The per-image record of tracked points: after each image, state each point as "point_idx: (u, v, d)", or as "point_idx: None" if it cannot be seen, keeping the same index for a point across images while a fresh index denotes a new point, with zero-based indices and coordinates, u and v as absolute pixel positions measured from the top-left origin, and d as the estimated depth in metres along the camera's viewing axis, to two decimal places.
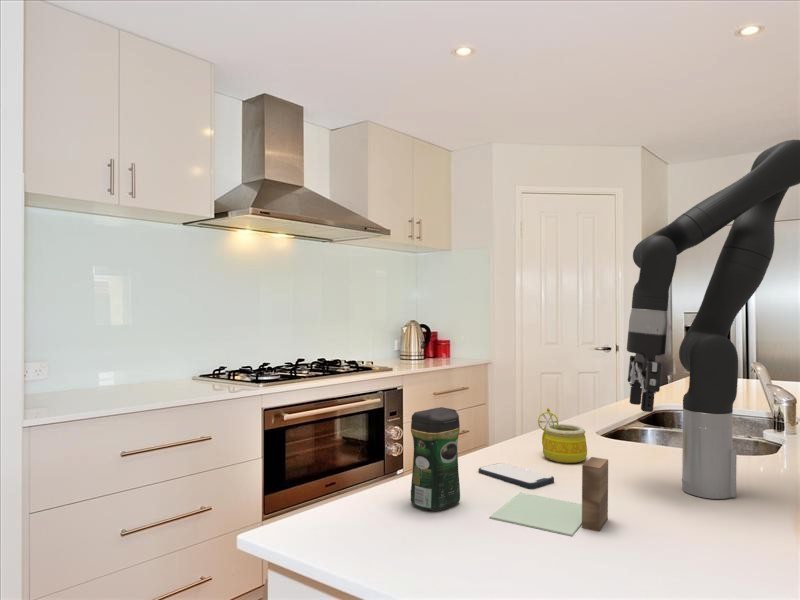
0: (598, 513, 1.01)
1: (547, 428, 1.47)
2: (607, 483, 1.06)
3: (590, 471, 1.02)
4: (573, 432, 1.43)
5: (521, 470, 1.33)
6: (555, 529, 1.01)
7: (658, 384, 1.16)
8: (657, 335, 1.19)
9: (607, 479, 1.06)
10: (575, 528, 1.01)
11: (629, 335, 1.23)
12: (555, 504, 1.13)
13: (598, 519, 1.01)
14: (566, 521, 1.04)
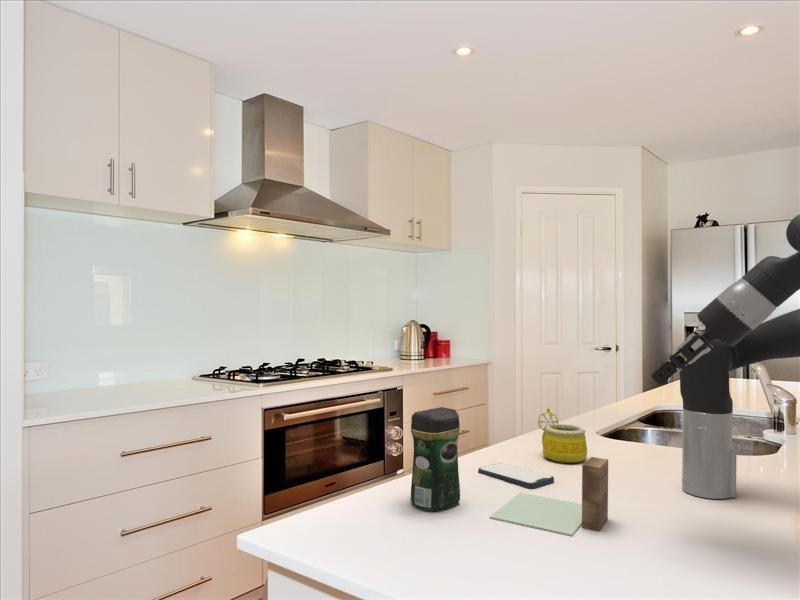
0: (598, 513, 1.01)
1: (547, 428, 1.47)
2: (607, 483, 1.06)
3: (590, 471, 1.02)
4: (573, 432, 1.43)
5: (521, 470, 1.33)
6: (555, 529, 1.01)
7: (685, 363, 0.95)
8: (737, 319, 0.93)
9: (607, 479, 1.06)
10: (575, 528, 1.01)
11: (712, 301, 0.98)
12: (555, 504, 1.13)
13: (598, 519, 1.01)
14: (566, 521, 1.04)
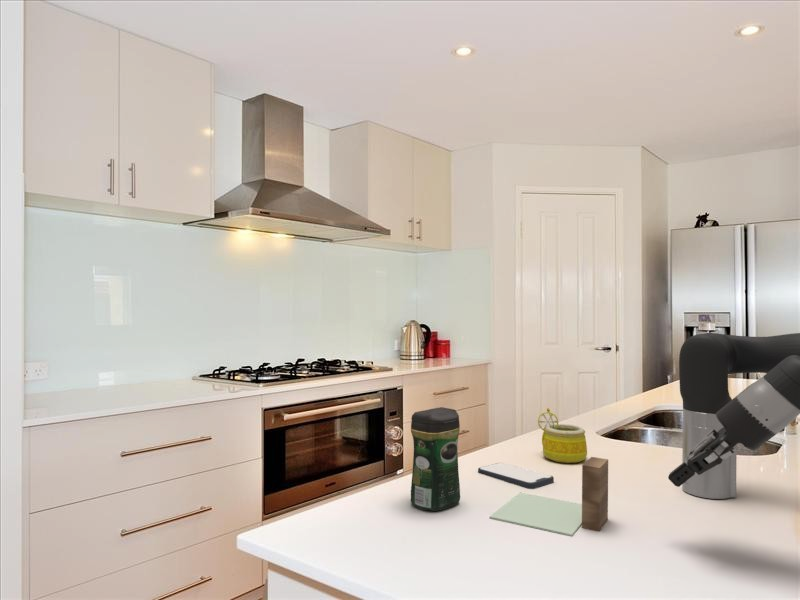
0: (598, 513, 1.01)
1: (547, 428, 1.47)
2: (607, 483, 1.06)
3: (590, 471, 1.02)
4: (573, 432, 1.43)
5: (521, 470, 1.33)
6: (555, 529, 1.01)
7: (701, 471, 0.91)
8: (761, 425, 0.87)
9: (607, 479, 1.06)
10: (575, 528, 1.01)
11: (732, 400, 0.92)
12: (555, 504, 1.13)
13: (598, 519, 1.01)
14: (566, 521, 1.04)
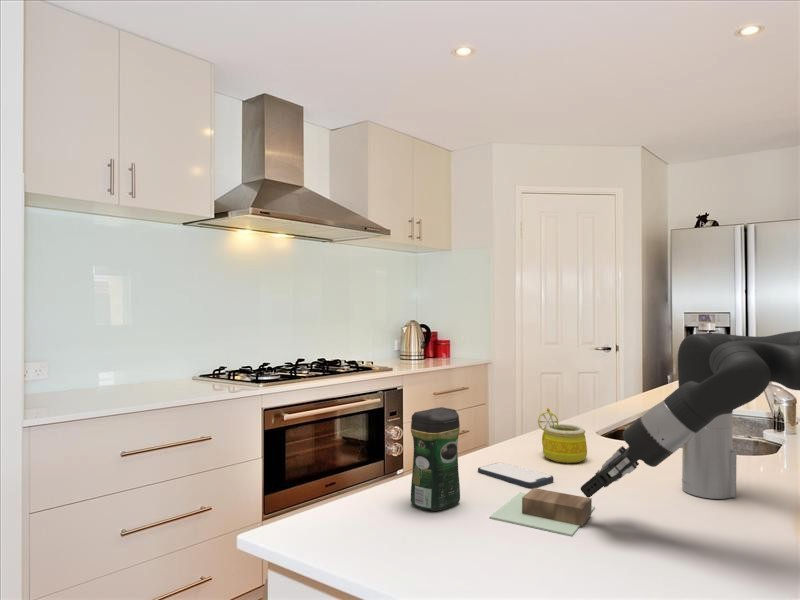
0: (564, 506, 1.04)
1: (547, 428, 1.47)
2: (554, 492, 1.11)
3: (526, 506, 1.08)
4: (573, 432, 1.43)
5: (520, 470, 1.33)
6: (555, 529, 1.01)
7: (606, 484, 1.00)
8: (658, 444, 0.95)
9: (550, 491, 1.11)
10: (575, 528, 1.01)
11: (636, 420, 1.00)
12: None
13: (570, 507, 1.03)
14: None
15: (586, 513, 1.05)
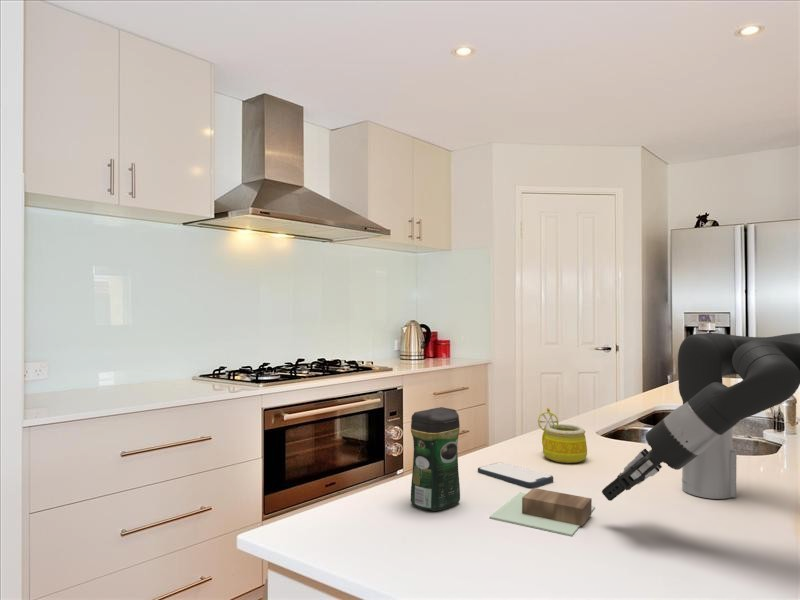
0: (564, 506, 1.04)
1: (547, 428, 1.47)
2: (554, 492, 1.11)
3: (526, 506, 1.08)
4: (573, 432, 1.43)
5: (520, 469, 1.33)
6: (555, 529, 1.01)
7: (628, 487, 0.98)
8: (682, 446, 0.94)
9: (550, 491, 1.11)
10: (575, 528, 1.01)
11: (659, 422, 0.98)
12: None
13: (570, 507, 1.03)
14: None
15: (586, 513, 1.05)
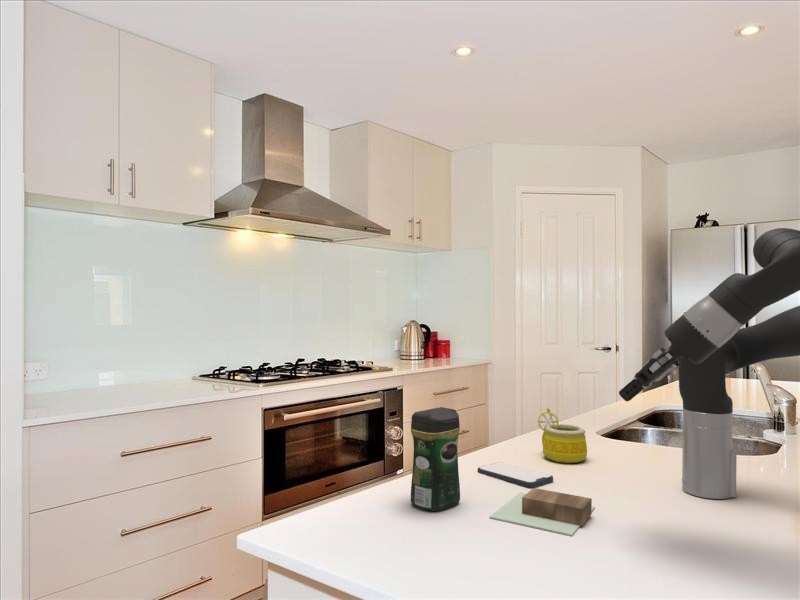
0: (564, 506, 1.04)
1: (547, 428, 1.47)
2: (554, 492, 1.11)
3: (526, 506, 1.08)
4: (573, 432, 1.43)
5: (520, 469, 1.33)
6: (555, 529, 1.01)
7: (647, 382, 0.96)
8: (702, 336, 0.92)
9: (550, 491, 1.11)
10: (575, 528, 1.01)
11: None
12: None
13: (570, 507, 1.03)
14: None
15: (586, 513, 1.05)
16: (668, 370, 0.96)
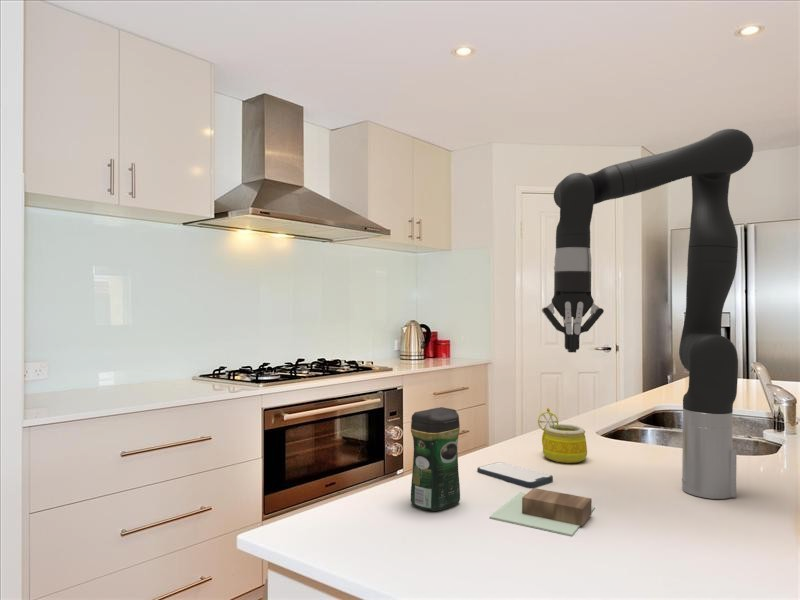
0: (564, 506, 1.04)
1: (547, 428, 1.47)
2: (554, 492, 1.11)
3: (526, 506, 1.08)
4: (573, 432, 1.43)
5: (520, 469, 1.34)
6: (555, 529, 1.01)
7: (555, 326, 1.23)
8: (556, 272, 1.23)
9: (550, 491, 1.11)
10: (575, 528, 1.01)
11: None
12: None
13: (570, 507, 1.03)
14: None
15: (586, 513, 1.05)
16: (564, 309, 1.22)
